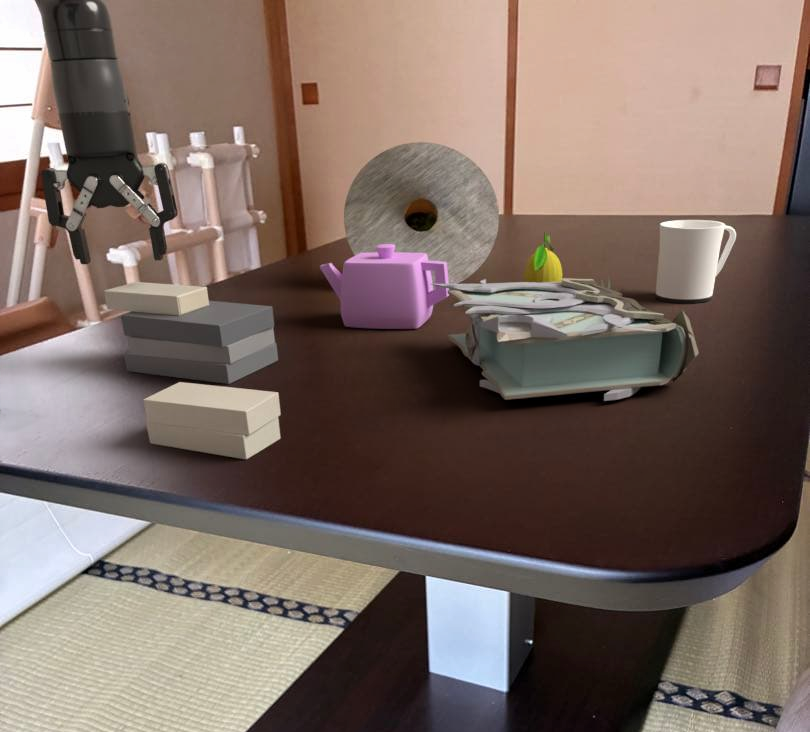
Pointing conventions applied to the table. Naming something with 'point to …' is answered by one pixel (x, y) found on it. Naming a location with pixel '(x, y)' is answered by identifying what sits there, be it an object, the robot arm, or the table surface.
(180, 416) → the cream lidded box
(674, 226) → the mug
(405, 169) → the disc
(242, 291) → the table surface
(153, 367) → the grey stack
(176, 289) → the cream rectangular block
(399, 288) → the teapot
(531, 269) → the lemon
